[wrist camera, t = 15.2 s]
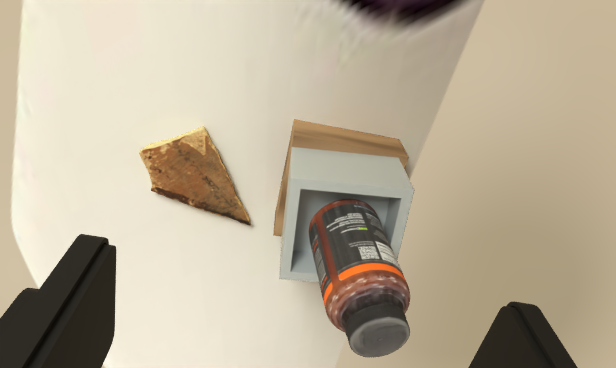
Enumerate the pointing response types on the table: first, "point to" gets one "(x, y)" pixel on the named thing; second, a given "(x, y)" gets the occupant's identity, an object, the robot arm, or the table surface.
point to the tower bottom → (333, 141)
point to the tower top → (336, 186)
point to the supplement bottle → (360, 277)
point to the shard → (193, 174)
